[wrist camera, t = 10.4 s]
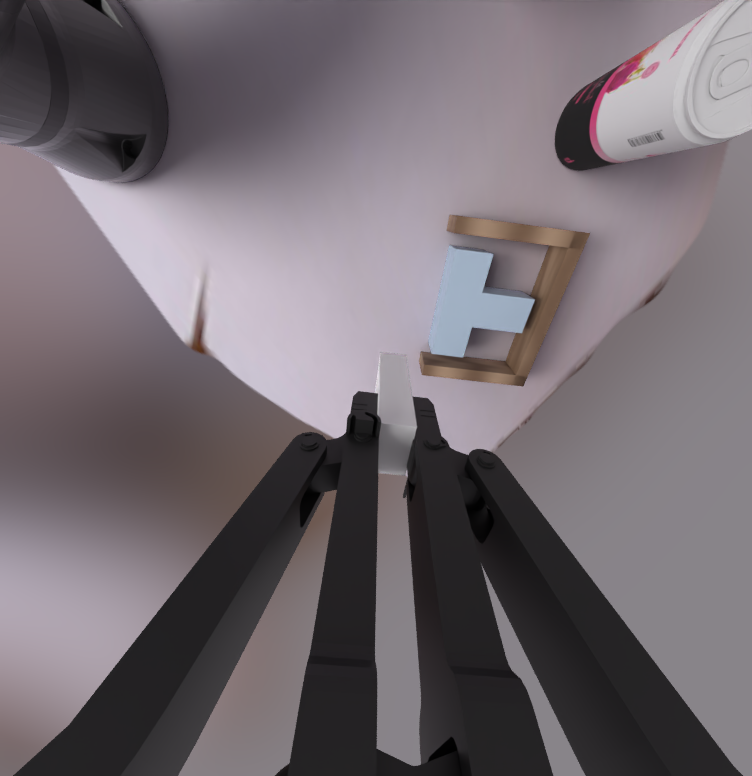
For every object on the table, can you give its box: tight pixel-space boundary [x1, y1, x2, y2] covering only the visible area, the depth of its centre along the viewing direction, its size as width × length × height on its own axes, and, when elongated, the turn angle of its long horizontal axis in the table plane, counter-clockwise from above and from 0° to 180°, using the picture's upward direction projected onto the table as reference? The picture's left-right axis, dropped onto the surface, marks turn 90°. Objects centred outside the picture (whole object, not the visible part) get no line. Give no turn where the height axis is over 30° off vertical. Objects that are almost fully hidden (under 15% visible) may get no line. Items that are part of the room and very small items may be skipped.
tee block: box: [428, 245, 535, 358], centre depth 35 cm, size 10×12×4 cm
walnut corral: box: [419, 215, 590, 386], centre depth 36 cm, size 14×18×4 cm
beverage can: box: [555, 0, 752, 171], centre depth 22 cm, size 7×7×15 cm
